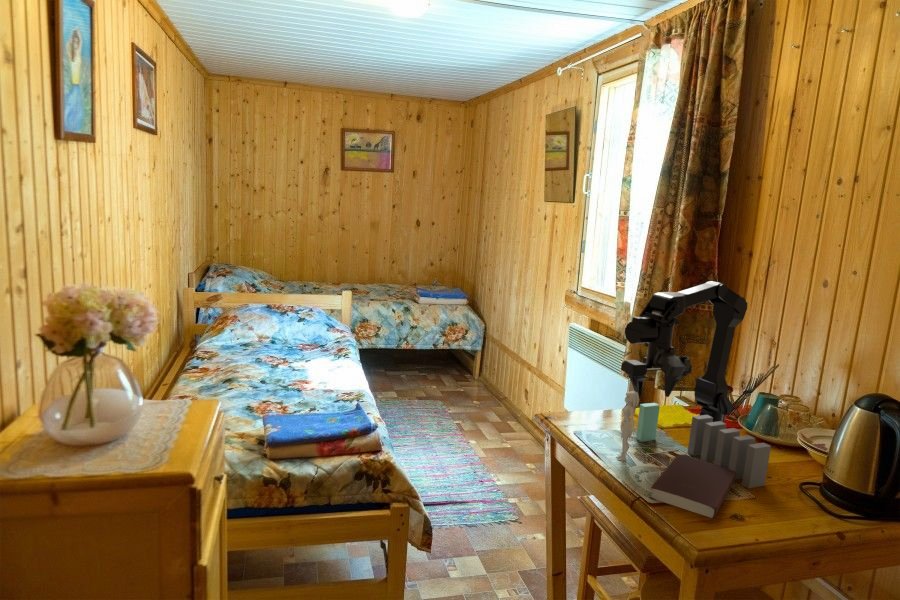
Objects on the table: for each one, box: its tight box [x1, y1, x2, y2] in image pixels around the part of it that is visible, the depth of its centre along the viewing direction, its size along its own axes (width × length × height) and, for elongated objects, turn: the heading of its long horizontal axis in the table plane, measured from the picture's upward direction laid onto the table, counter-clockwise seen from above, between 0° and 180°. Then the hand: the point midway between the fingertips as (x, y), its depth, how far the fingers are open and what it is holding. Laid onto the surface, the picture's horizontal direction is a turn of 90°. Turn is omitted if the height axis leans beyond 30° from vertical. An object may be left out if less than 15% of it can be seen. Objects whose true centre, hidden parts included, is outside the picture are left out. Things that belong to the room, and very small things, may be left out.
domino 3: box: [713, 427, 741, 469], centre depth 155 cm, size 5×2×10 cm, turn 112°
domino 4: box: [728, 434, 756, 480], centre depth 151 cm, size 5×2×10 cm, turn 112°
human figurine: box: [615, 390, 640, 462], centre depth 156 cm, size 12×4×18 cm, turn 175°
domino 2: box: [699, 421, 727, 463], centre depth 159 cm, size 5×2×10 cm, turn 112°
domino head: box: [635, 402, 661, 443], centre depth 170 cm, size 5×2×10 cm, turn 112°
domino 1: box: [687, 415, 713, 456], centre depth 163 cm, size 5×2×10 cm, turn 112°
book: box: [648, 453, 736, 519], centre depth 143 cm, size 14×22×4 cm, turn 145°
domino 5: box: [741, 442, 772, 489], centre depth 146 cm, size 5×2×10 cm, turn 112°
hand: (652, 397), depth 167 cm, fingers open, 9 cm apart
